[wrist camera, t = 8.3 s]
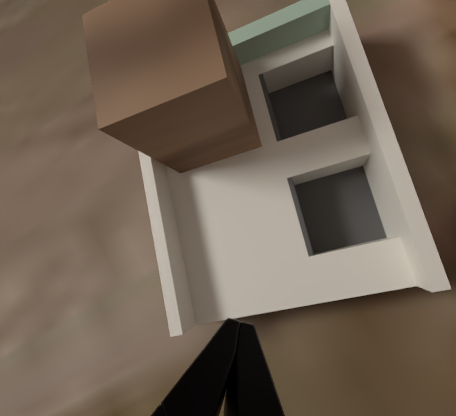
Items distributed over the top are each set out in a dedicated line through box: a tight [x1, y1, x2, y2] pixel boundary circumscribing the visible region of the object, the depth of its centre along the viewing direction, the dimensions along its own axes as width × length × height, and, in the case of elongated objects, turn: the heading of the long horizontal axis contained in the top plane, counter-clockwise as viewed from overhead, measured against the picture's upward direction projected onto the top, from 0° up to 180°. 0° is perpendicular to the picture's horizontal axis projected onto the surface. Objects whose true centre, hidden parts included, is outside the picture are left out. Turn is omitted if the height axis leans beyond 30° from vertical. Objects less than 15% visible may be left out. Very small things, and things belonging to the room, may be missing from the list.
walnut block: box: [82, 0, 262, 173], centre depth 16 cm, size 6×6×8 cm
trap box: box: [138, 0, 451, 337], centre depth 19 cm, size 17×15×5 cm
